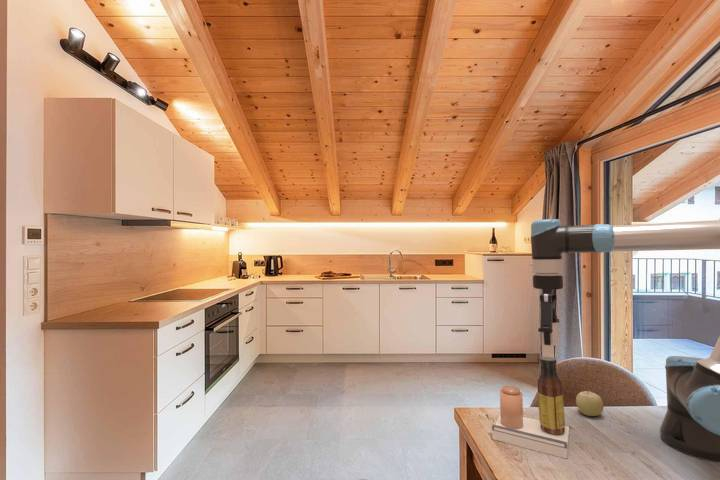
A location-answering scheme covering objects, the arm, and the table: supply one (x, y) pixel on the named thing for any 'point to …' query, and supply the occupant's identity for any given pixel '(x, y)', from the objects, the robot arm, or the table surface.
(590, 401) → the fruit
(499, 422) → the white rectangular box
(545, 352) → the robot arm
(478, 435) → the table surface
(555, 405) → the sauce bottle
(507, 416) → the terracotta jar
